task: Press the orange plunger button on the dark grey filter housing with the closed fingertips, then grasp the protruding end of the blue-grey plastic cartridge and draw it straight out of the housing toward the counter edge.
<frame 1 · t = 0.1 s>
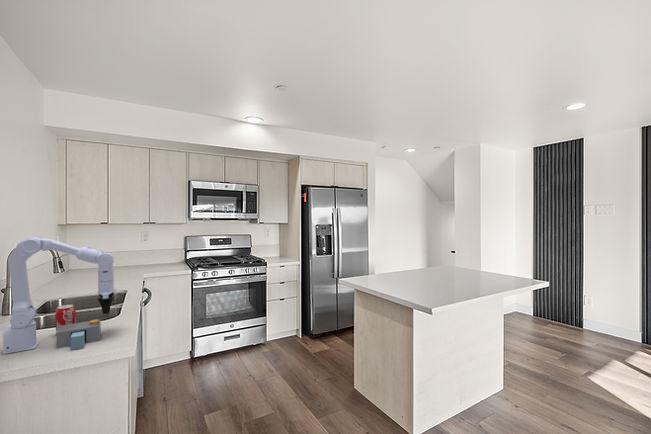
hand: (106, 311, 145), 10 cm above the table, fingers open, 7 cm apart
soda can: (66, 333, 146), on the table
plunger: (94, 325, 141), point 5 cm above the table, slide at 1.5 cm
cartridge: (78, 337, 135), point 3 cm above the table, slide at 0.0 cm
housing: (80, 340, 138), on the table
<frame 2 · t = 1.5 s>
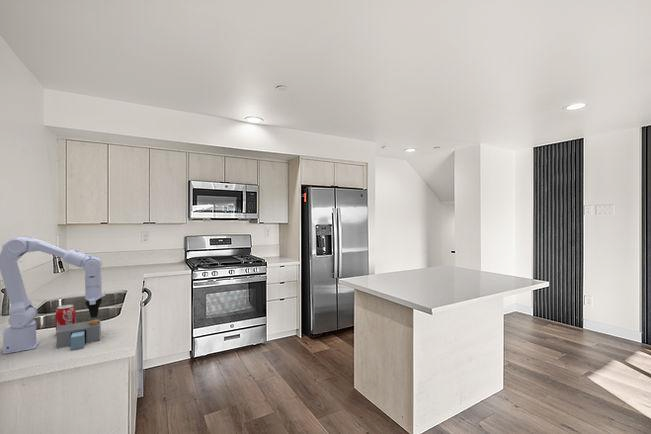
hand: (94, 317, 141), 9 cm above the table, fingers closed
nothing on the table moved.
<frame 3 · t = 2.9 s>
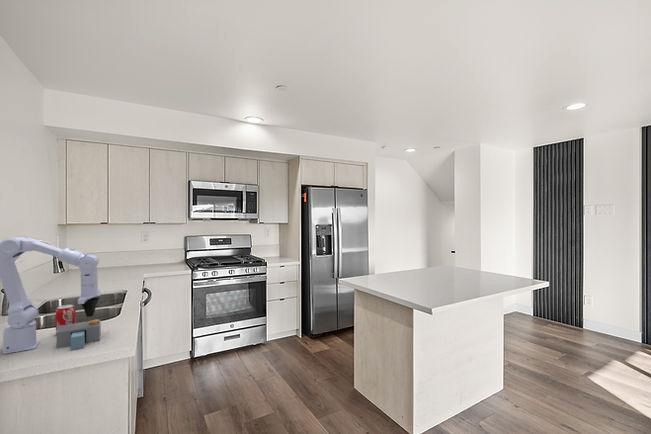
hand: (90, 316, 138), 10 cm above the table, fingers closed
nothing on the table moved.
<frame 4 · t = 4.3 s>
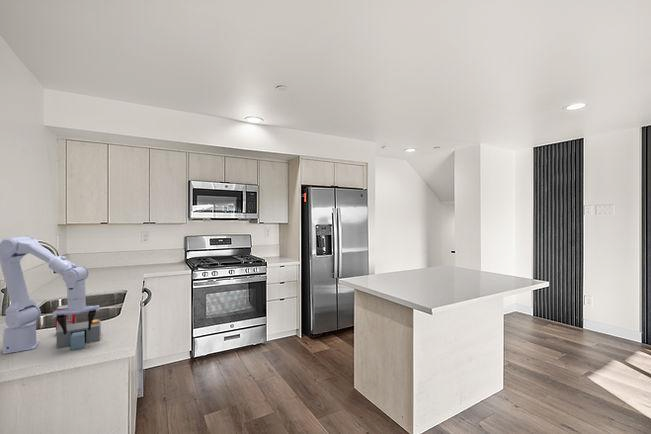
hand: (77, 331, 130), 6 cm above the table, fingers open, 7 cm apart
nothing on the table moved.
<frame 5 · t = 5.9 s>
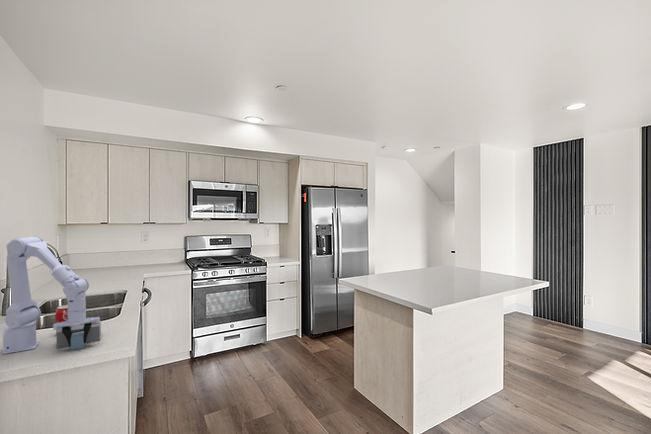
hand: (77, 343, 131), 2 cm above the table, fingers closed on cartridge, 4 cm apart
cartridge: (78, 337, 135), point 3 cm above the table, slide at 0.0 cm, touching gripper
everything else where it was.
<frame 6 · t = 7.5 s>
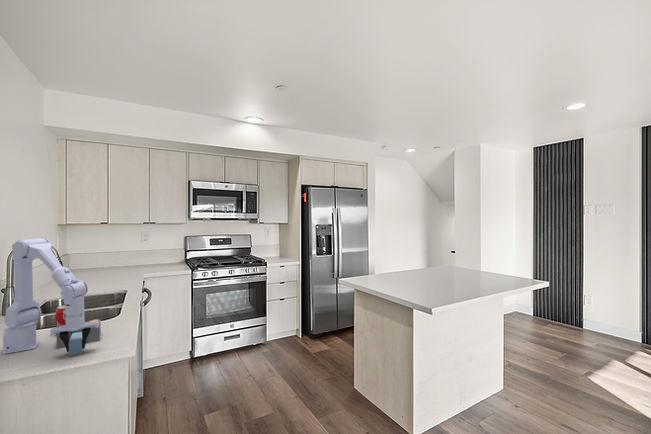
hand: (76, 349, 125), 2 cm above the table, fingers closed on cartridge, 4 cm apart
cartridge: (77, 342, 130), point 3 cm above the table, slide at 5.9 cm, touching gripper
everything else where it was.
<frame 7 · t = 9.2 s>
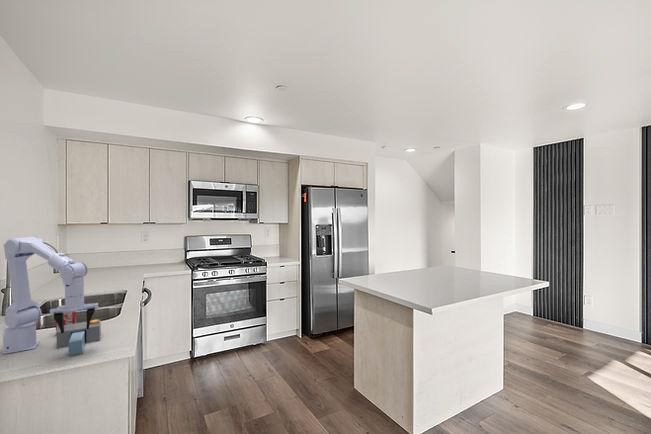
hand: (75, 330, 125), 9 cm above the table, fingers open, 7 cm apart
cartridge: (77, 342, 130), point 3 cm above the table, slide at 5.9 cm
everything else where it was.
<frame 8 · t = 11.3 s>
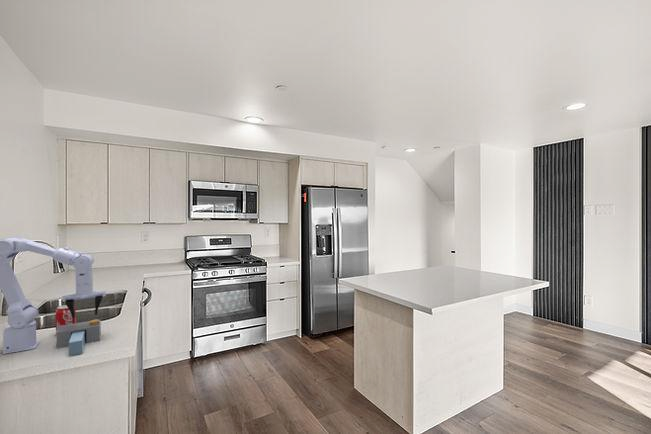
hand: (85, 315, 138), 10 cm above the table, fingers open, 7 cm apart
nothing on the table moved.
at the end: cartridge slide at 5.9 cm; the gripper is holding nothing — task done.
